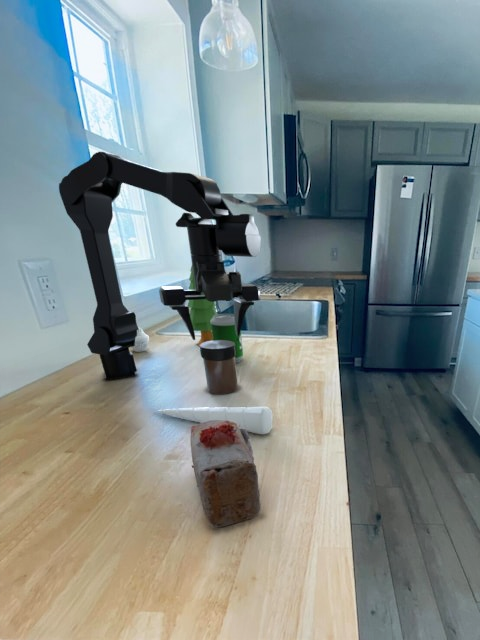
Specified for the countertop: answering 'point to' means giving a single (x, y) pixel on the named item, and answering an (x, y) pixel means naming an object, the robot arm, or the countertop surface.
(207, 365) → the coffee jar
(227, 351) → the jar lid
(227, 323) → the soda can
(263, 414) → the unicorn horn
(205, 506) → the food item
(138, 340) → the garlic bulb
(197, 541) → the countertop surface
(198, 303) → the decorative tree
